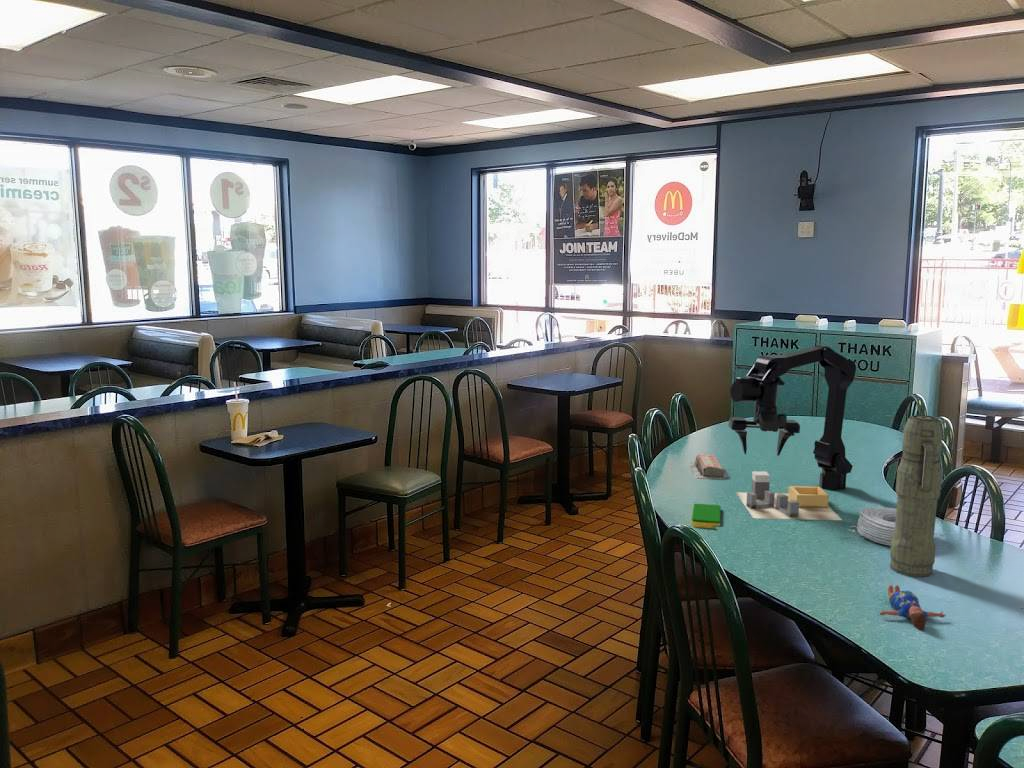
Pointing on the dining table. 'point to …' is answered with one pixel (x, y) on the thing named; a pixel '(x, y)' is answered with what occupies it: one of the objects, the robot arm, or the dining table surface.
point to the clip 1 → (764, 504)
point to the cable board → (775, 514)
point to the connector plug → (760, 483)
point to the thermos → (917, 497)
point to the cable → (876, 524)
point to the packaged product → (707, 467)
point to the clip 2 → (787, 506)
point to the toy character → (908, 607)
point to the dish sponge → (706, 515)
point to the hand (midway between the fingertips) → (761, 454)
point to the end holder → (808, 496)
